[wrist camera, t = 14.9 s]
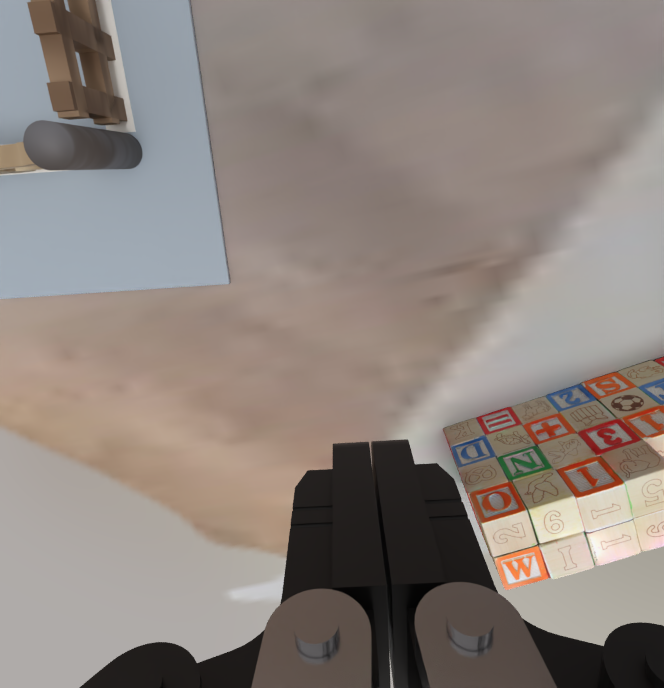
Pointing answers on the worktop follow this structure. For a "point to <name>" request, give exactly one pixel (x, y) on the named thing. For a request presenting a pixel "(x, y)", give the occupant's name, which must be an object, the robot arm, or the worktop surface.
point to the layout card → (113, 184)
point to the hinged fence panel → (15, 159)
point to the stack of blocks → (568, 475)
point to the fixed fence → (78, 92)
